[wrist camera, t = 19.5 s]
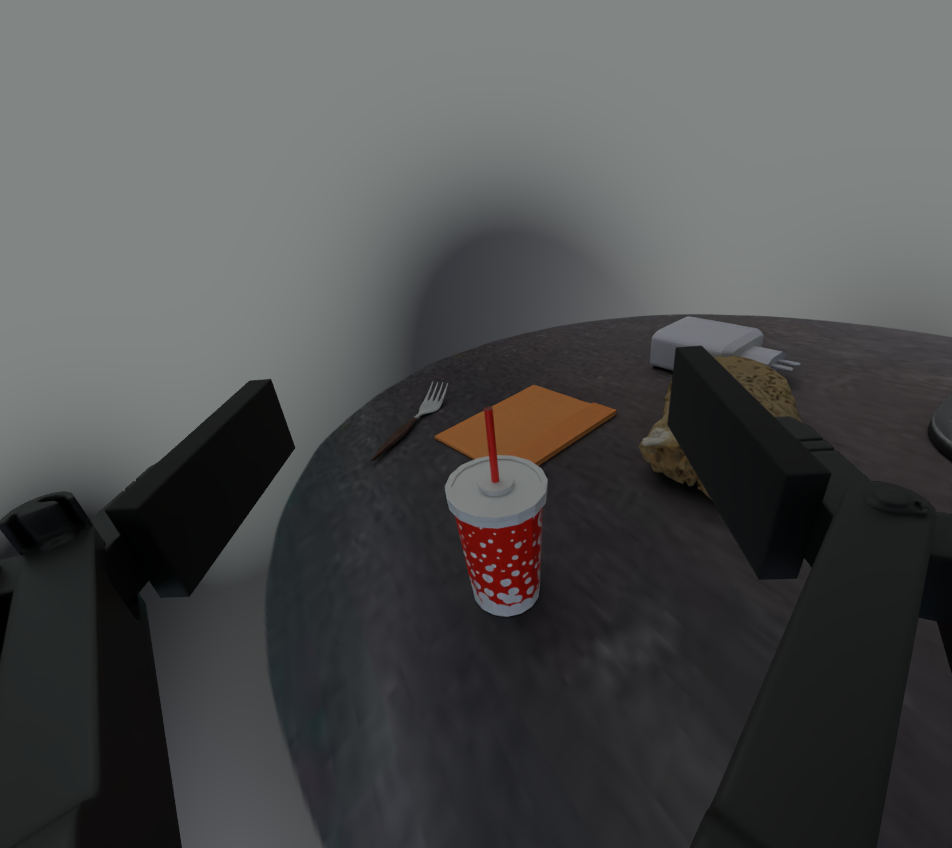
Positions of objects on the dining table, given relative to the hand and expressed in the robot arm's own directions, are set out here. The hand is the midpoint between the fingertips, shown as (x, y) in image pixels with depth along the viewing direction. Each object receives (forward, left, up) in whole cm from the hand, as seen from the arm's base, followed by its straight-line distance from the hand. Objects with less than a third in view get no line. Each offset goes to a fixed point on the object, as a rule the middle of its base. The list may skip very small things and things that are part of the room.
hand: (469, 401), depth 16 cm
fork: (-15, -30, -19) cm, 39 cm away
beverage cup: (-6, -6, -19) cm, 21 cm away
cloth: (-23, -20, -19) cm, 36 cm away
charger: (-48, -10, -19) cm, 53 cm away
